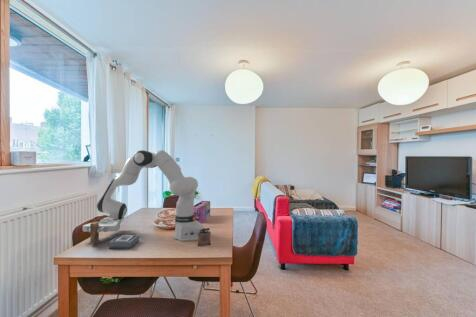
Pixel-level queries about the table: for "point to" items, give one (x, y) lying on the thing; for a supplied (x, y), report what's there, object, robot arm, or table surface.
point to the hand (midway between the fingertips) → (93, 231)
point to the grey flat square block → (124, 242)
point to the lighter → (204, 237)
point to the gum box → (202, 211)
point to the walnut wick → (94, 233)
